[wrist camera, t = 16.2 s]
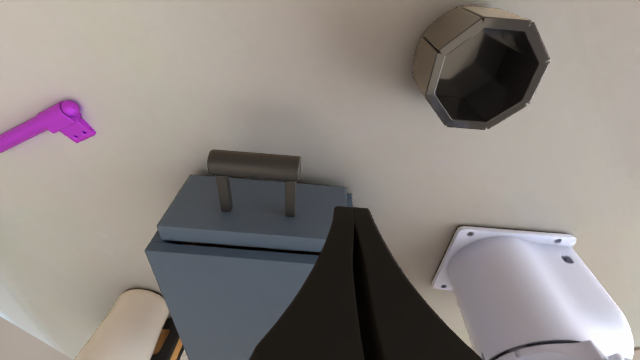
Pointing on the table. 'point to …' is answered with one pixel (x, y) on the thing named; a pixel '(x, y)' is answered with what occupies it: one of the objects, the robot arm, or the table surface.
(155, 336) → the drinking glass
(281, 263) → the cabinet
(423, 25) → the table surface
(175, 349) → the ammunition clip
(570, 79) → the table surface
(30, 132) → the purple bicycle pump
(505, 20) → the grey hollow octagonal cup
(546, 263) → the robot arm
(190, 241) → the drawer
